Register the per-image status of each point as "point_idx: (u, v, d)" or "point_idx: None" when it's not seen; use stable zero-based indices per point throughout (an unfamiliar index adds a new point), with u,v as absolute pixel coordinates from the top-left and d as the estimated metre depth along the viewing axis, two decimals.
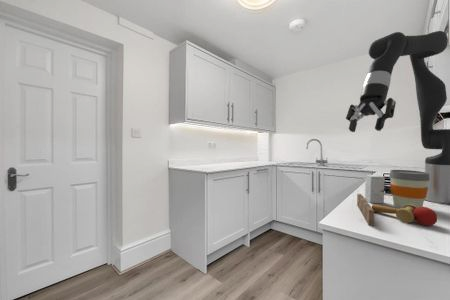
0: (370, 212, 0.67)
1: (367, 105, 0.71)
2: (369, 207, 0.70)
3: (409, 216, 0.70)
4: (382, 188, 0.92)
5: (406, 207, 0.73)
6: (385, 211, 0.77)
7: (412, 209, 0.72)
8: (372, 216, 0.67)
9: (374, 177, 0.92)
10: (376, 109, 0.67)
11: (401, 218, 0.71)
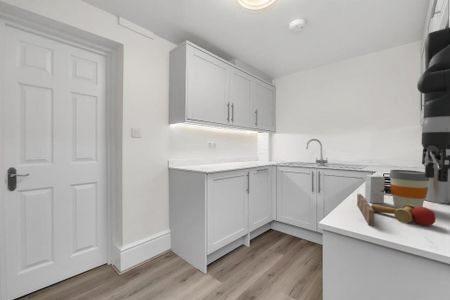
0: (370, 212, 0.67)
1: None
2: (369, 207, 0.70)
3: (407, 216, 0.70)
4: (382, 188, 0.92)
5: (405, 207, 0.74)
6: (384, 211, 0.77)
7: (411, 209, 0.72)
8: (372, 216, 0.67)
9: (374, 177, 0.92)
10: (434, 160, 0.67)
11: (399, 218, 0.72)
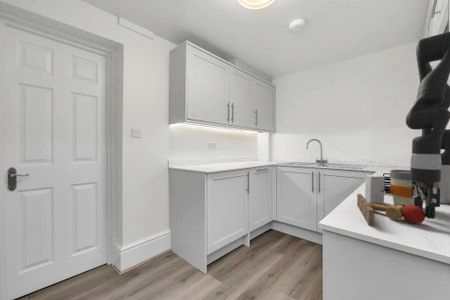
0: (370, 212, 0.67)
1: None
2: (369, 207, 0.70)
3: (397, 214, 0.71)
4: (382, 188, 0.92)
5: (397, 205, 0.75)
6: (377, 209, 0.79)
7: (402, 207, 0.73)
8: (372, 216, 0.67)
9: (374, 177, 0.92)
10: (422, 196, 0.68)
11: (390, 216, 0.73)
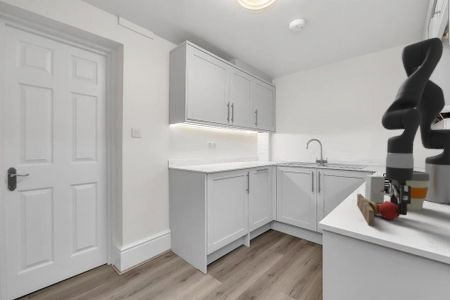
0: (370, 212, 0.67)
1: None
2: (369, 207, 0.70)
3: (375, 209, 0.76)
4: (382, 188, 0.92)
5: None
6: None
7: None
8: (372, 216, 0.67)
9: (374, 177, 0.92)
10: (395, 194, 0.71)
11: None
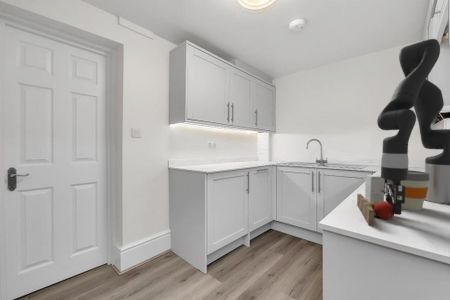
0: (370, 212, 0.67)
1: (389, 185, 0.75)
2: (369, 207, 0.70)
3: None
4: (382, 188, 0.92)
5: None
6: None
7: None
8: (372, 216, 0.67)
9: (374, 177, 0.92)
10: (390, 194, 0.72)
11: None
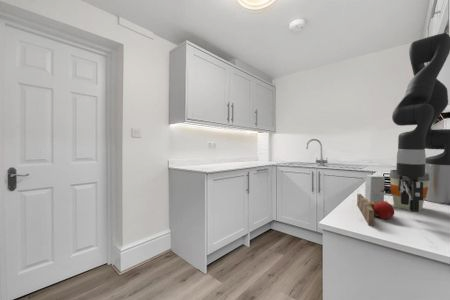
0: (370, 212, 0.67)
1: None
2: (369, 207, 0.70)
3: None
4: (382, 188, 0.92)
5: None
6: None
7: None
8: (372, 216, 0.67)
9: (374, 177, 0.92)
10: (407, 190, 0.70)
11: None
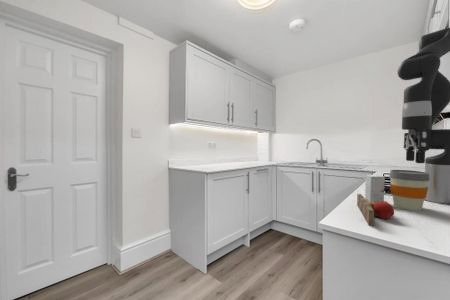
0: (370, 212, 0.67)
1: None
2: (369, 207, 0.70)
3: None
4: (382, 188, 0.92)
5: None
6: None
7: None
8: (372, 216, 0.67)
9: (374, 177, 0.92)
10: (412, 143, 0.70)
11: None
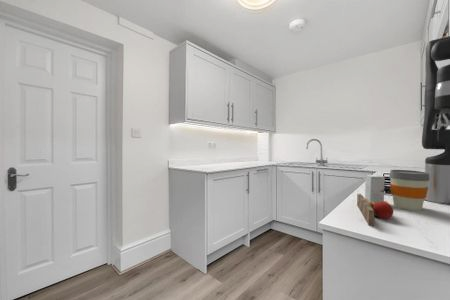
0: (370, 212, 0.67)
1: None
2: (369, 207, 0.70)
3: None
4: (382, 188, 0.92)
5: None
6: None
7: None
8: (372, 216, 0.67)
9: (374, 177, 0.92)
10: (447, 121, 0.72)
11: None
